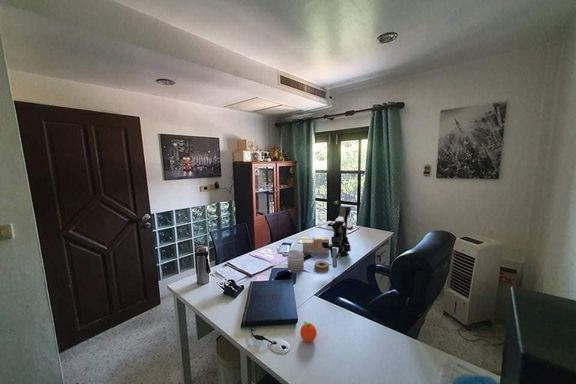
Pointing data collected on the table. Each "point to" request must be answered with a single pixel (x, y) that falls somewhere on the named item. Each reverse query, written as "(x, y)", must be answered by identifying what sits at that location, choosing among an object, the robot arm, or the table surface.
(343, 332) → the table surface
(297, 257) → the can
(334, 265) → the peg
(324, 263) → the brown ring
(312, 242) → the stack of blocks
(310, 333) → the clementine
